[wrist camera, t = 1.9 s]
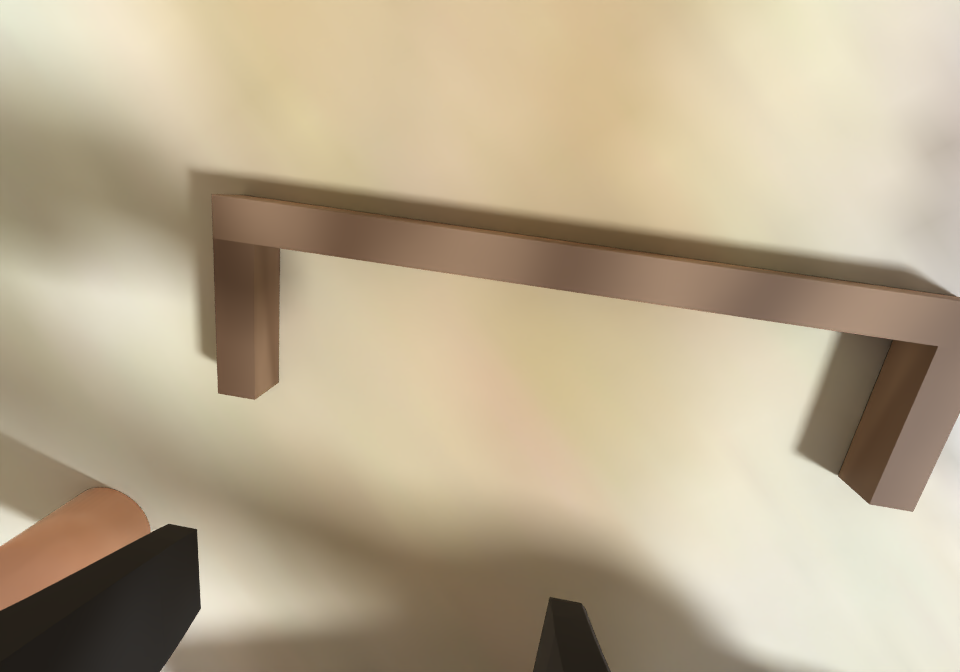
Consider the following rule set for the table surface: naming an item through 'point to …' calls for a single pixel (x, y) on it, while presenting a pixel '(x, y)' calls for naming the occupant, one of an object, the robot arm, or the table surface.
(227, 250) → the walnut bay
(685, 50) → the table surface
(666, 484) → the table surface
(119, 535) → the terracotta spice jar
